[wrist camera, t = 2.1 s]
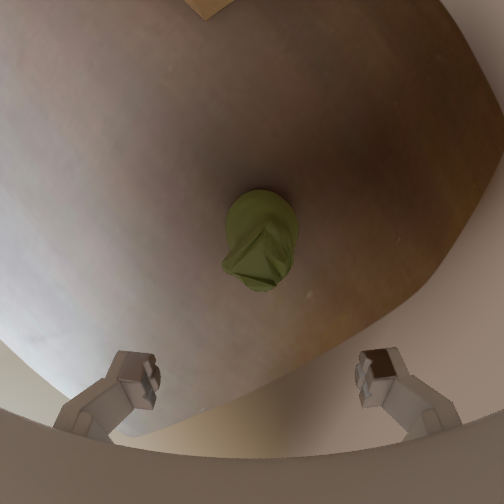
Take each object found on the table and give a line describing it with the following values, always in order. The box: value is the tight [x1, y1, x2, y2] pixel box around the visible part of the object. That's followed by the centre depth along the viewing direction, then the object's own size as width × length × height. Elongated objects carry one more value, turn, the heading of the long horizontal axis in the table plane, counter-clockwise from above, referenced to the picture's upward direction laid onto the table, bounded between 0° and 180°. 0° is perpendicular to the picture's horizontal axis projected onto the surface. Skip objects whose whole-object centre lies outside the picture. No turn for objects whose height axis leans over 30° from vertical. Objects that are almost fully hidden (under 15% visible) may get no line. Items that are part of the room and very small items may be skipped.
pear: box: [222, 190, 299, 292], centre depth 22 cm, size 6×5×10 cm
